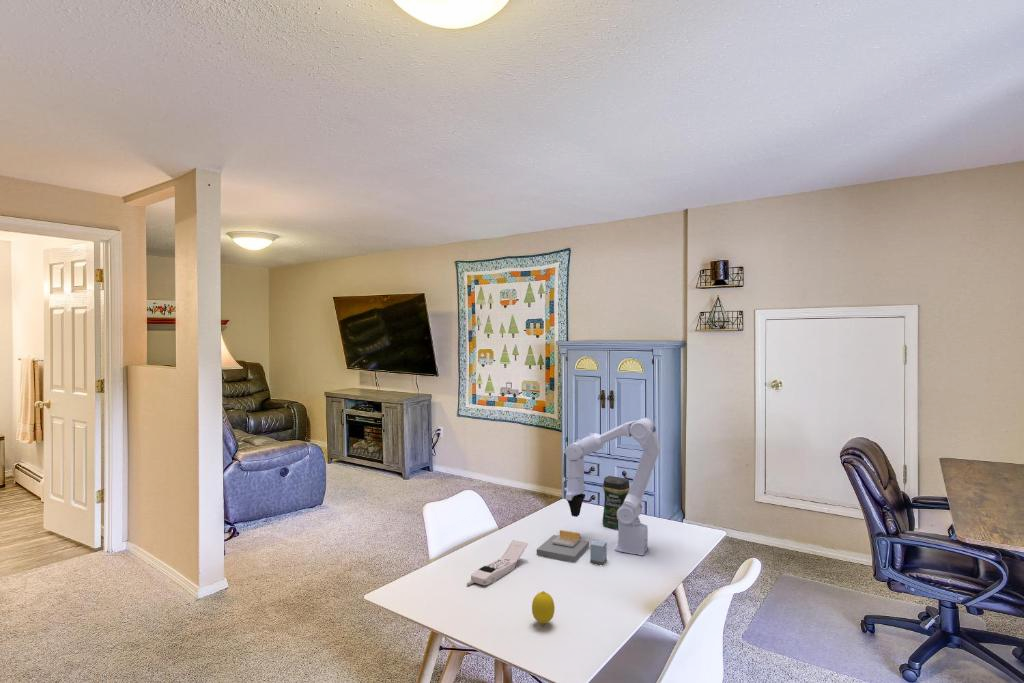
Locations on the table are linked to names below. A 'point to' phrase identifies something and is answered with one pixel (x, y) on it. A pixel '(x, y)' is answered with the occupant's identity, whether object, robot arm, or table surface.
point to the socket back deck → (559, 552)
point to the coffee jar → (614, 499)
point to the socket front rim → (580, 540)
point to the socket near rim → (582, 546)
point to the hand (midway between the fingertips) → (575, 515)
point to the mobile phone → (499, 565)
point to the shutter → (567, 538)
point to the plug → (598, 552)
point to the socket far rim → (550, 539)
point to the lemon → (543, 607)
